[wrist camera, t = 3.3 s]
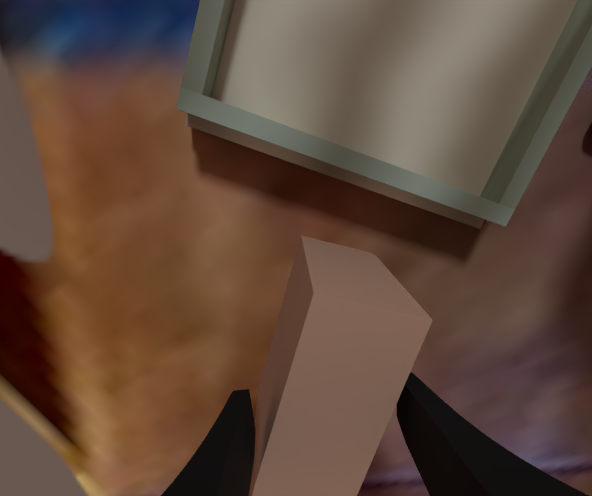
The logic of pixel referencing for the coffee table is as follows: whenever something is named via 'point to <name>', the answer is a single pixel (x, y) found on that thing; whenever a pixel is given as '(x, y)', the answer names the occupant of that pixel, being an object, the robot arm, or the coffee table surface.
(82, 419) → the coffee table surface
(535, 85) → the shallow square tray
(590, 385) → the coffee table surface
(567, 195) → the coffee table surface
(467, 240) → the coffee table surface
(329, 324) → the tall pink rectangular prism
